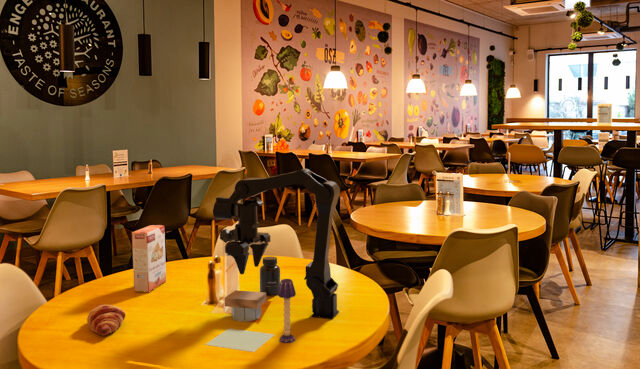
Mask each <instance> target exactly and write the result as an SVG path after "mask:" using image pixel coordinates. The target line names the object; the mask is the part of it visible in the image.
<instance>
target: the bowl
mask: <svg viewBox="0 0 640 369" xmlns="http://www.w3.org/2000/svg"><path fill="white" fill-rule="evenodd" d="M261 315H262V305H261V306H260V307H259V308H258V309H252V308H240V307H231V317H232V319H233V320H234V321H238V322H252V321H255V320H259V319H260V317H261Z"/></svg>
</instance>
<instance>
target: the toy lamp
mask: <svg viewBox="0 0 640 369" xmlns="http://www.w3.org/2000/svg"><path fill="white" fill-rule="evenodd" d="M296 294H297V293H296V289H295V285H294V281H293V279H290V278H283V279H280V286H279V290H278V294H277V297H279V298H280V299H281V298H282V299H283V306H284V307H283V317H284V318H283V323H284V324H283V334H282V335H281V336H280V337H279V339H278V340H279V342H280V343H282V344H291V343H294V342H295V341H296V338H295V336H294V335H293V334H291V298H294V297H296Z"/></svg>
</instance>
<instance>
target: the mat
mask: <svg viewBox="0 0 640 369" xmlns="http://www.w3.org/2000/svg"><path fill="white" fill-rule="evenodd" d="M275 335H276V334H273V333H267V332H261V331H251V330H244V329H238V328H237V329H236V328H231V327H230V328H227V329H225V331H223V332H222V333H220V334H219V335H217V336H215V337H214V338H213V339H211V340H210V341H208V342H207V343H205V344H204V345H206V346H212V347H219V348H226V349H231V350H232V349H233V350H237V351H245V352H250V353H251V352H252V353H254V352H256V351H257V350H258V349H260V348H261V347H262V346H263V345H264V344H265V343H266V342H268V341H269V340H270V339H272V338H273V337H274V336H275Z"/></svg>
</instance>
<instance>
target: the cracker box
mask: <svg viewBox="0 0 640 369" xmlns="http://www.w3.org/2000/svg"><path fill="white" fill-rule="evenodd" d="M165 230H166V229H165V225H162V224H156V225H155V224H152V225H151V224H150V225H148V226H145V227H143V228H140V229H136V230H135V231H132V232H131V240H132V244H131V245H132V268H133V270H132V271H133V272H132V273H133V290H134V291H145V292H144V293H150V292H152V291H153V290H155V289H156V287H157V286H158V287H160V286H161V285H163V284H164V283H166V282H167V270H166V268H167V267H166V266H167V265H166V263H167V262H166V237H165V236H166V233H165ZM165 281H166V282H165ZM162 283H163V284H162ZM160 284H161V285H160ZM159 285H160V286H159ZM158 287H157V288H158ZM154 288H155V289H154ZM152 289H153V290H152ZM151 290H152V291H151ZM149 291H150V292H149Z"/></svg>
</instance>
